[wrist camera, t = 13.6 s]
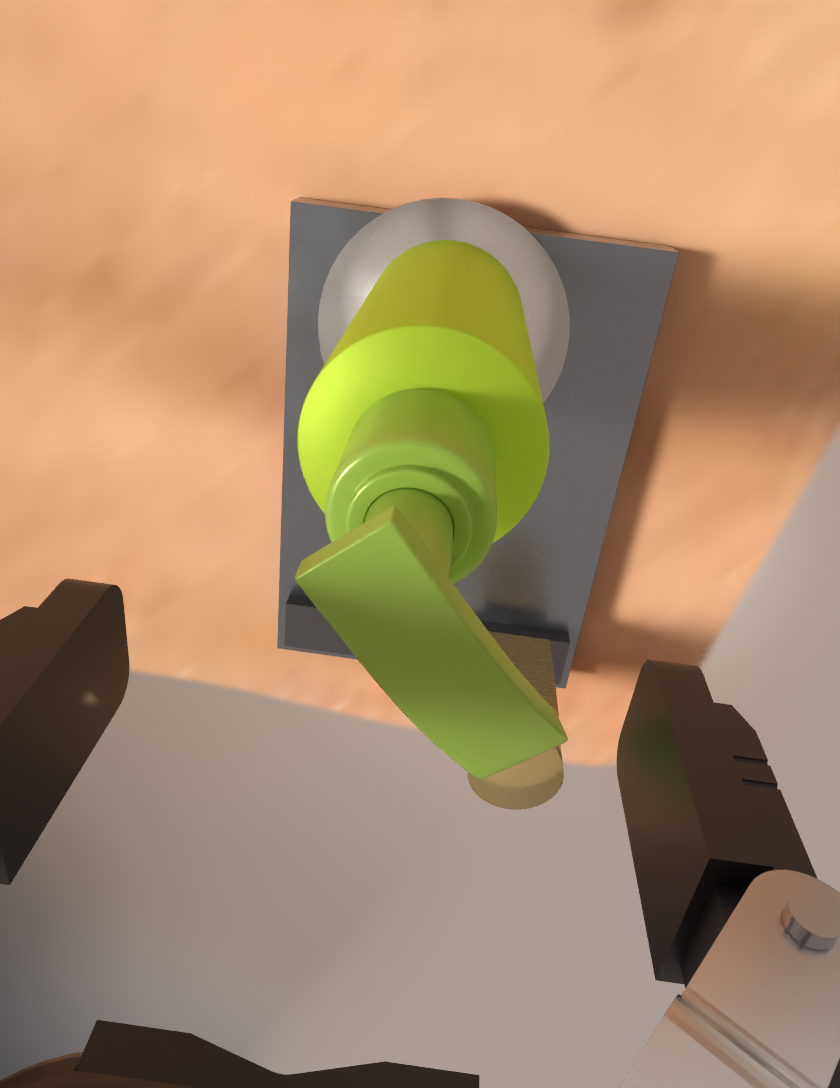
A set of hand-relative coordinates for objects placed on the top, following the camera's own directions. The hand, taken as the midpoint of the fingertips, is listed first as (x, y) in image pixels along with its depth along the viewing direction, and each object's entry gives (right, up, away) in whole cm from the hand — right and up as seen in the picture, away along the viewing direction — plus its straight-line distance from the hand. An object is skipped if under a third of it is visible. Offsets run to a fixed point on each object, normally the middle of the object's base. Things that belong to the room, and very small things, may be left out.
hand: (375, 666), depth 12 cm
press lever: (+5, -3, +24) cm, 24 cm away
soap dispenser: (+2, +10, +18) cm, 21 cm away
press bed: (+2, +5, +22) cm, 23 cm away
